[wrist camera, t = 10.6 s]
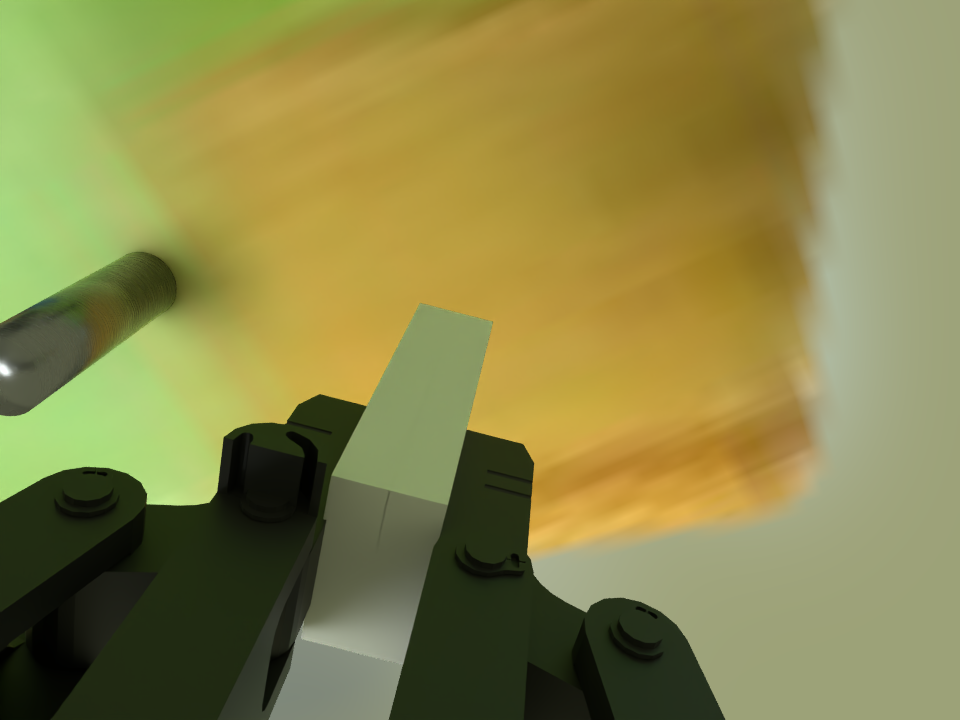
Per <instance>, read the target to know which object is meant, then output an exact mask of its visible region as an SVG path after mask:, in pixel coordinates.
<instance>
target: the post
mask: <svg viewBox="0 0 960 720" xmlns="http://www.w3.org/2000/svg"><path fill="white" fill-rule="evenodd" d="M175 297H176V283H175V279H174V276H173V274H172V272H171V271H170V269H169V268H168V267H167V266H166V265H165V264H164V263H163V262H162V261H161V260H160V259H158V258H156V257H155V256H153V255H150V254H147V253H142V252H135V253H130V254H128V255H125V256H124V257H122V258H120V259H118V260H116V261H114V262H113V263H111V264H109V265H107V266H105V267H103V268H102V269H100V270H98V271H96V272H94V273H92V274H90V275H89V276H87V277H85V278H83V279H81V280H79V281H78V282H76V283H74V284H72V285H70V286H68V287H67V288H65V289H63V290H61V291H59V292H57V293H56V294H54V295H52V296H50V297H48V298H46V299H45V300H43V301H41V302H39V303H37V304H35V305H33V306H32V307H30V308H28V309H26V310H24V311H22V312H21V313H19V314H17V315H15V316H13V317H11V318H10V319H8V320H6V321H4V322H2V323H0V415H4V416H17V415H21V414H24V413H26V412H28V411H30V410H31V409H33V408H34V407H35V406H37V405H38V404H39V403H41V402H42V401H43V400H45V399H46V398H47V397H49V396H50V395H52V394H53V393H54V392H56V391H57V390H58V389H60V388H61V387H62V386H64V385H65V384H67V383H68V382H69V381H71V380H72V379H73V378H75V377H76V376H77V375H79V374H80V373H81V372H83V371H84V370H86V369H87V368H88V367H90V366H91V365H92V364H94V363H95V362H96V361H98V360H99V359H101V358H102V357H103V356H105V355H106V354H107V353H109V352H110V351H111V350H113V349H114V348H116V347H117V346H118V345H120V344H121V343H122V342H124V341H125V340H126V339H128V338H129V337H130V336H132V335H133V334H135V333H136V332H137V331H139V330H140V329H141V328H143V327H144V326H145V325H147V324H148V323H150V322H151V321H152V320H154V319H155V318H156V317H158V316H159V315H160V314H162V313H163V312H165V311H166V310H167V309H168V308H169V307H170V306H171V305H172V304H173V302H174V300H175Z"/></svg>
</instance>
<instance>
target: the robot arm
mask: <svg viewBox="0 0 960 720" xmlns="http://www.w3.org/2000/svg"><path fill="white" fill-rule="evenodd" d="M492 324H493V322H492V321H488V320H484V319H480V318H476V317H473V316H469V315H465V314H461V313H457V312H453V311H449V310H445V309H441V308H437V307H434V306H430V305H426V304H422V303H420V304H419V306H418V308H417V310H416V312H415V314H414V316H413V318H412V320H411V322H410V324H409V326H408V328H407V329H406V331H405V333H404V335H403V337H402V339H401V341H400V343H399V345H398V347H397V349H396V351H395V353H394V355H393V357H392V359H391V361H390V362H389V364H388V366H387V368H386V370H385V372H384V374H383V376H382V378H381V380H380V382H379V384H378V386H377V388H376V390H375V392H374V394H373V395H372V397H371V399H370V401H369V403H368V405H367V406H364V405H360V404H356V403H352V402H348V401H344V400H340V399H336V398H332V397H329V396H325V395H321V394H319V395H317V396H315V397H313V398H311V399H309V400H307V401H305V402H303V403H301V404H299V405H298V406H297V407H296V409H295V410H294V412H293V413H292V415H291V416H290V417H289V419H288V420H287V424H285V425H284V424H277V423H257V424H250V425H246V426H243V427H240V428H236V429H234V430H233V431H232V432H230V433H229V434H228V435H226V436H225V437H224V440H223V449H222V457H221V466H220V474H219V483H218V491H217V493H216V495H215V496H214V497H213V499H212V500H211V501H210V503H205V504H200V505H185V506H174V505H150V504H146V502H147V493H146V491H145V489H144V488H143V486H142V484H141V482H139V481H138V480H136V479H135V478H133V477H132V476H130V475H129V474H127V473H123V472H120V471H116V470H113V469H109V468H96V467H82V468H76V469H69V470H63V471H61V472H58V473H55V474H53V475H50V476H48V477H45V478H43V479H41V480H40V481H38V482H36V483H34V484H32V485H31V486H29V487H27V488H25V489H23V490H22V491H20V492H18V493H16V494H15V495H13V496H11V497H9V498H7V499H6V500H4V501H2V502H0V720H268V719H269V717H270V714H271V712H272V710H273V707H274V705H275V703H276V700H277V697H278V695H279V693H280V691H281V688H282V686H283V684H284V681H285V679H286V677H287V674H288V672H289V669H290V666H291V660H292V654H293V648H294V643H295V639H296V637H297V635H298V632H299V630H300V628H301V626H302V623H303V621H304V626H303V631H302V637H301V639H304V640H308V641H311V642H315V643H319V644H323V645H327V646H331V647H335V648H339V649H343V650H346V651H350V652H354V653H358V654H362V655H366V656H370V657H374V658H378V659H382V660H385V661H389V662H393V663H397V664H401V665H403V667H402V671H401V675H400V679H399V683H398V686H397V690H396V694H395V698H394V702H393V706H392V710H391V714H390V717H389V720H725V718H724V716H723V714H722V712H721V710H720V707H719V705H718V703H717V701H716V699H715V697H714V695H713V693H712V691H711V689H710V686H709V684H708V682H707V680H706V678H705V676H704V674H703V672H702V670H701V668H700V666H699V664H698V661H697V660H696V657H695V655H694V653H693V651H692V649H691V647H690V645H689V643H688V641H687V639H686V638H685V636H684V635H683V633H682V632H681V631H680V629H679V628H678V626H677V625H676V624H675V623H673V622H672V621H671V620H670V619H669V618H667V617H666V616H665V615H664V614H662V613H661V612H660V611H658V610H656V609H654V608H652V607H650V606H648V605H646V604H644V603H642V602H638V601H634V600H629V599H625V598H608V599H603V600H601V601H599V602H597V603H595V604H593V605H591V606H590V608H589V610H588V612H587V613H586V612H584V611H582V610H580V609H578V608H576V607H574V606H572V605H570V604H568V603H566V602H564V601H563V600H561V599H560V598H558V597H556V596H555V595H553V594H552V593H550V592H549V591H548V590H547V589H546V588H545V587H544V586H542V585H541V584H540V582H539V581H538V580H537V579H536V577H535V576H534V575H533V573H534V572H533V568H532V563H531V559H530V558H529V557H528V555H527V548H528V535H529V522H530V509H531V496H532V482H533V470H534V462H533V460H532V459H531V457H530V455H529V453H528V452H527V450H526V448H525V446H524V445H523V444H520V443H516V442H512V441H509V440H505V439H501V438H497V437H493V436H489V435H485V434H481V433H477V432H474V431H470V430H466V429H467V425H468V421H469V417H470V413H471V409H472V405H473V401H474V397H475V393H476V389H477V385H478V381H479V377H480V373H481V369H482V364H483V360H484V356H485V352H486V348H487V344H488V340H489V336H490V332H491V328H492ZM304 619H305V620H304Z"/></svg>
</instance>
